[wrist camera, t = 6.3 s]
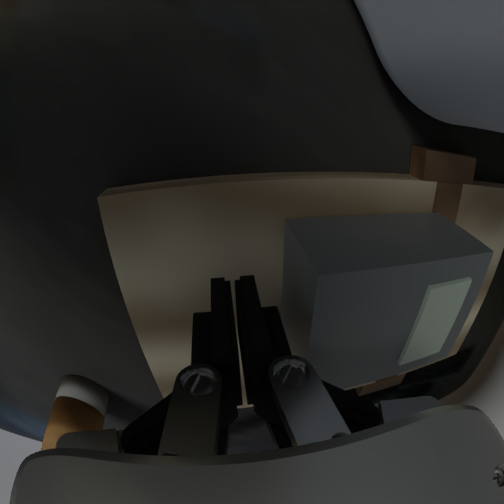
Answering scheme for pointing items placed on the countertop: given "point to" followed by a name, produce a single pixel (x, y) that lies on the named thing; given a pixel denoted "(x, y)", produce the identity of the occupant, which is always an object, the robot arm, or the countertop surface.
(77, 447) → the robot arm
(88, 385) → the orange brown cylinder
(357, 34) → the countertop surface
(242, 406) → the board
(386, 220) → the block
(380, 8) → the plastic bottle
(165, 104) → the countertop surface
